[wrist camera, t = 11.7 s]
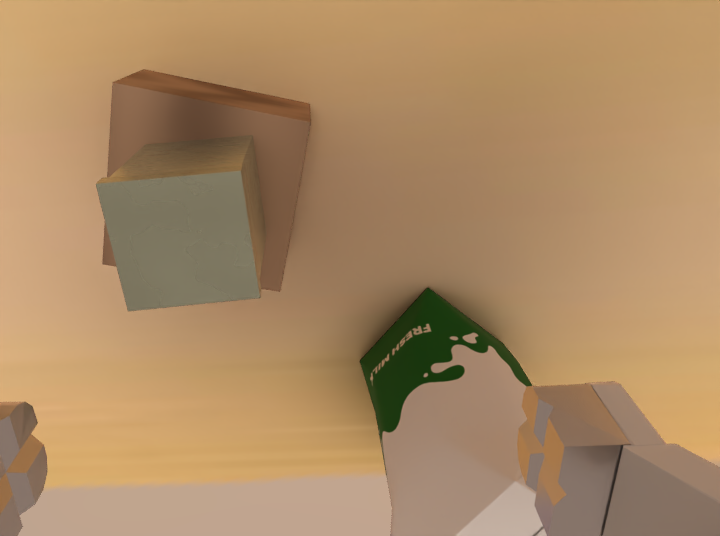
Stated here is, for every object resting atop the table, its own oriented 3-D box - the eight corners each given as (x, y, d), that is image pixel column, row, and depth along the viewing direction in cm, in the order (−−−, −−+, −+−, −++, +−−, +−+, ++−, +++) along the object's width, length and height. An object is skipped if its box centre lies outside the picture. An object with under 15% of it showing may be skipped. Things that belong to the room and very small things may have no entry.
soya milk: (436, 425, 44) (532, 730, 25) (338, 361, 41) (366, 652, 22) (522, 340, 41) (695, 608, 23) (425, 266, 38) (534, 505, 20)
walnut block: (309, 103, 34) (311, 122, 29) (283, 249, 37) (280, 291, 32) (144, 69, 33) (112, 82, 27) (132, 224, 36) (102, 264, 31)
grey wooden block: (254, 132, 29) (240, 170, 22) (268, 235, 31) (260, 298, 24) (142, 142, 28) (95, 183, 22) (165, 245, 30) (128, 311, 24)
